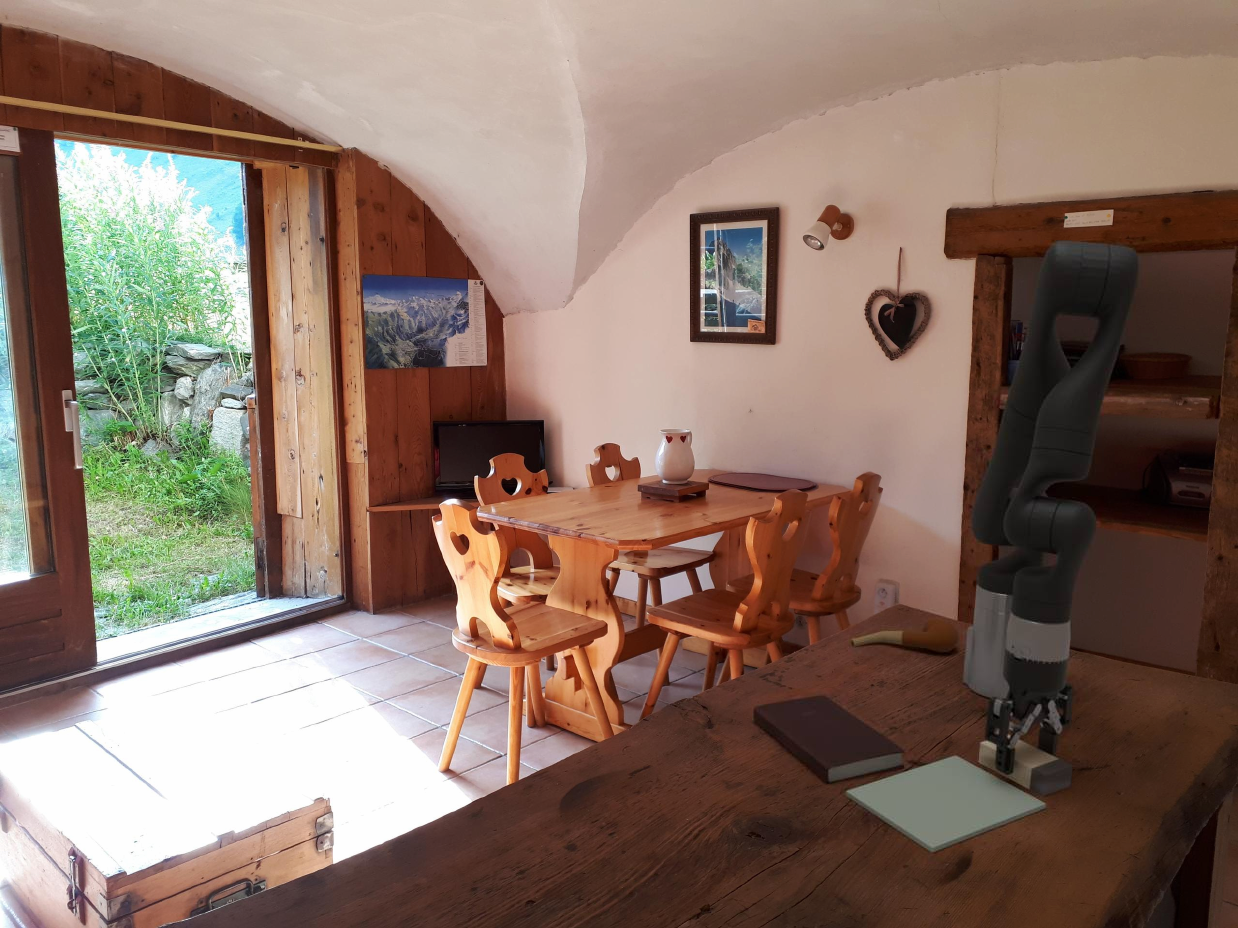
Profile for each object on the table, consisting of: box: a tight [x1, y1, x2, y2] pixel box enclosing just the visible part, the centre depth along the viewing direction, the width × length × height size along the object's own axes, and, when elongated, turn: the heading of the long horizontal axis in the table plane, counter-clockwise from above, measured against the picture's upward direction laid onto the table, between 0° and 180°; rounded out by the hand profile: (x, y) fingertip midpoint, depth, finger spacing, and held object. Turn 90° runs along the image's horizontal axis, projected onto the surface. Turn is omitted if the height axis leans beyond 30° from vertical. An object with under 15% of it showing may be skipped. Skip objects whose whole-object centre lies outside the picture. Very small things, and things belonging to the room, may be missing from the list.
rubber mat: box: [845, 754, 1047, 854], centre depth 117 cm, size 14×20×1 cm
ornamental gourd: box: [850, 617, 959, 653], centre depth 168 cm, size 7×18×6 cm, turn 91°
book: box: [752, 695, 905, 784], centre depth 132 cm, size 12×19×3 cm, turn 21°
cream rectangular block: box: [978, 734, 1074, 797], centre depth 125 cm, size 10×6×3 cm, turn 30°
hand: (1025, 764), depth 124 cm, fingers open, 8 cm apart
